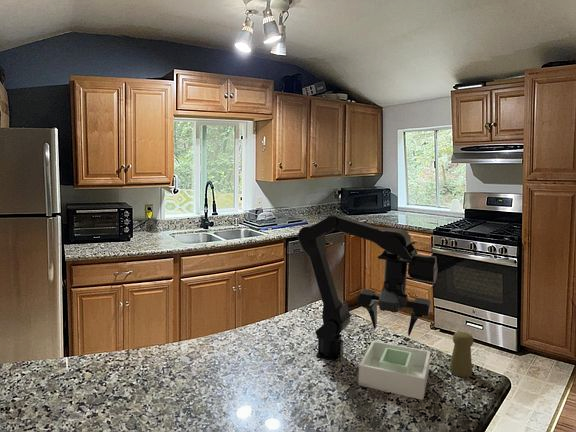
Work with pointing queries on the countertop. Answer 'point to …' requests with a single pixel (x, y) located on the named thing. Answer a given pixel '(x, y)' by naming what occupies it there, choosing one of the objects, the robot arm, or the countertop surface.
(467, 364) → the olive pepper shaker
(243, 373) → the countertop surface
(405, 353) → the sage crate
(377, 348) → the white open box
